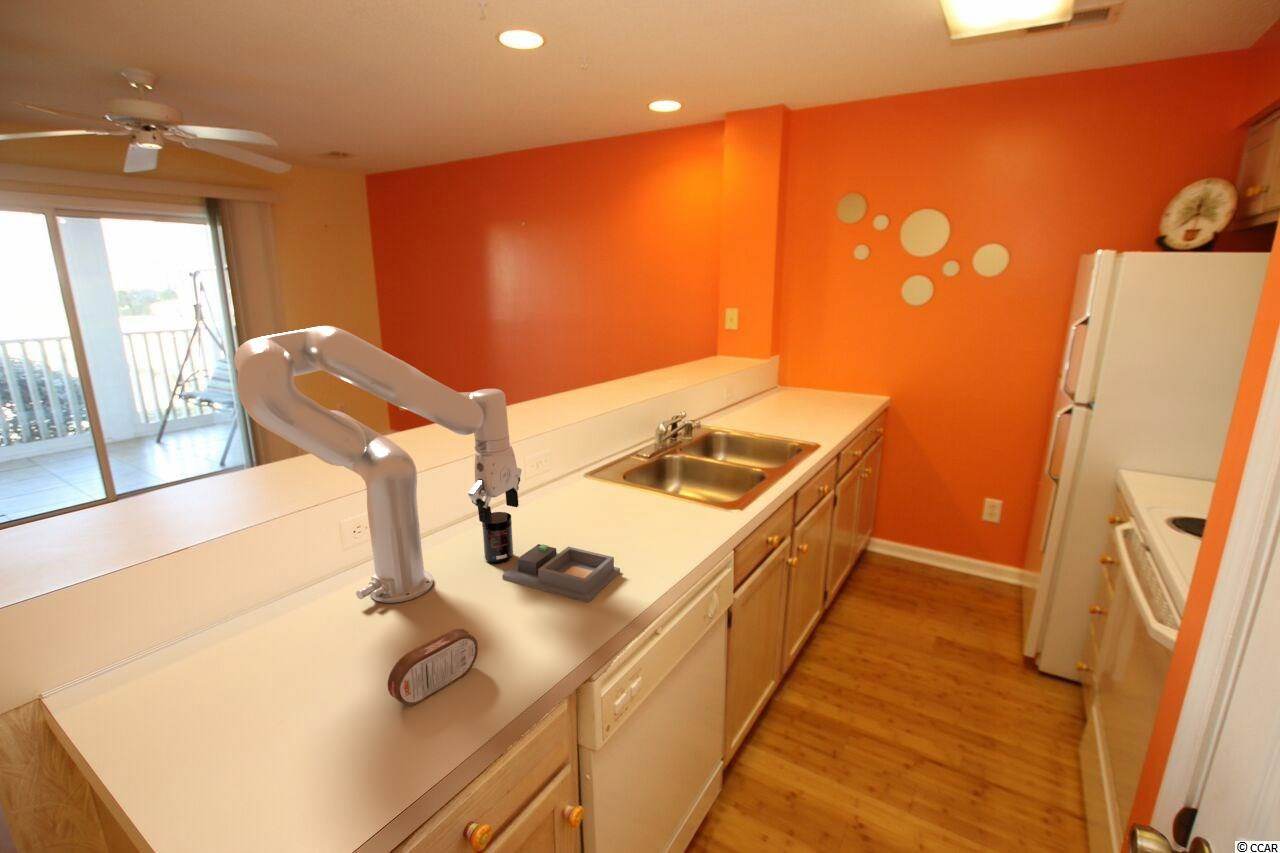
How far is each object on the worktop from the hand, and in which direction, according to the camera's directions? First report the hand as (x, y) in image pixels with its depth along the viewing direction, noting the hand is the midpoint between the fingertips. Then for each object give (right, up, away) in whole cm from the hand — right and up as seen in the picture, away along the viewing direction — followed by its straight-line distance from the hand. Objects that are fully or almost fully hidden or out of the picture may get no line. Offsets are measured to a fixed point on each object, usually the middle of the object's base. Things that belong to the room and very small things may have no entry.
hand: (499, 513), depth 136 cm
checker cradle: (+15, -13, -6) cm, 21 cm away
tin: (0, -22, -41) cm, 47 cm away
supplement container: (-1, -11, +2) cm, 11 cm away
